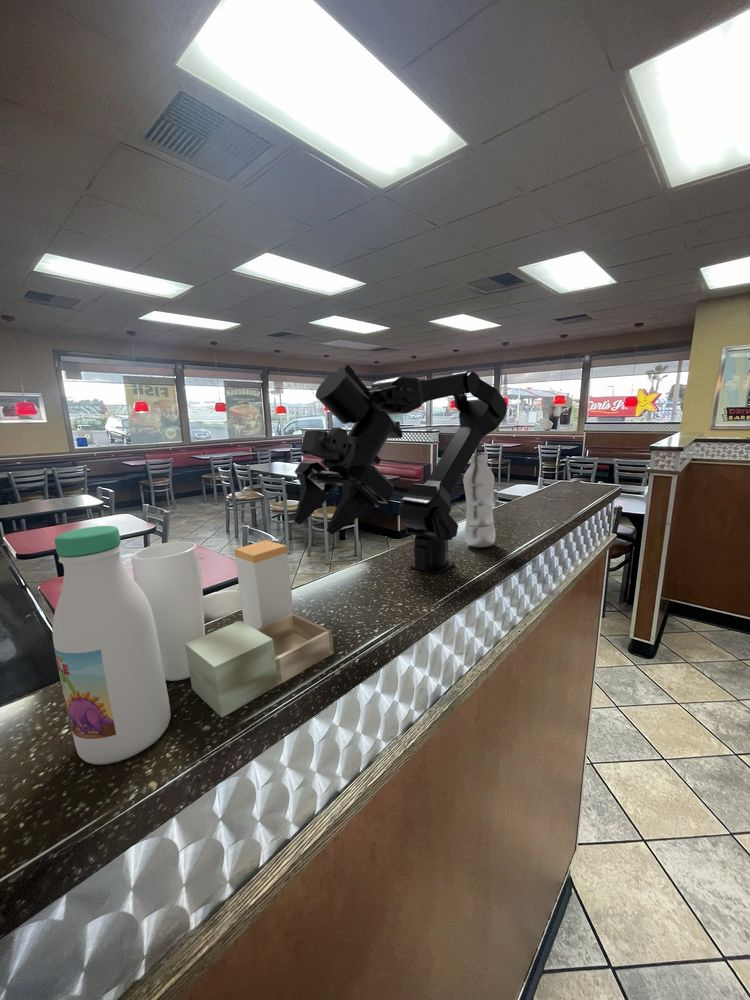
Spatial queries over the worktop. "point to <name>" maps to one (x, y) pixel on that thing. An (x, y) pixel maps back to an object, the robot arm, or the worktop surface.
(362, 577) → the worktop surface
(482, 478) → the plastic bottle
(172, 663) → the drinking glass
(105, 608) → the milk bottle
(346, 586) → the worktop surface
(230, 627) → the open wooden box
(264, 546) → the orange-topped white pillar
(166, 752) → the worktop surface
